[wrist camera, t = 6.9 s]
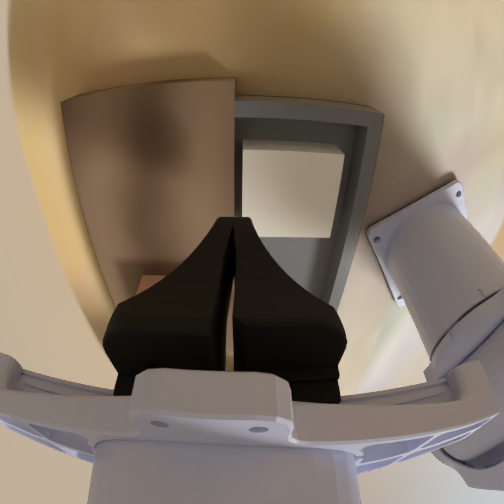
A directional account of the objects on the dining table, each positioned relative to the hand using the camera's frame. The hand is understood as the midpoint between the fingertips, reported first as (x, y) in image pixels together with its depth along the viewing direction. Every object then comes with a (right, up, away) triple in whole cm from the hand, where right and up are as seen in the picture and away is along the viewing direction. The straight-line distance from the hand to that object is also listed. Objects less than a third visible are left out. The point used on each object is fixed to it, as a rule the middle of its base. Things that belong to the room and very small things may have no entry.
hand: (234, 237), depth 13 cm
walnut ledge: (-5, 0, +7) cm, 8 cm away
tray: (+3, 0, +7) cm, 8 cm away
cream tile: (+3, +3, +4) cm, 6 cm away
